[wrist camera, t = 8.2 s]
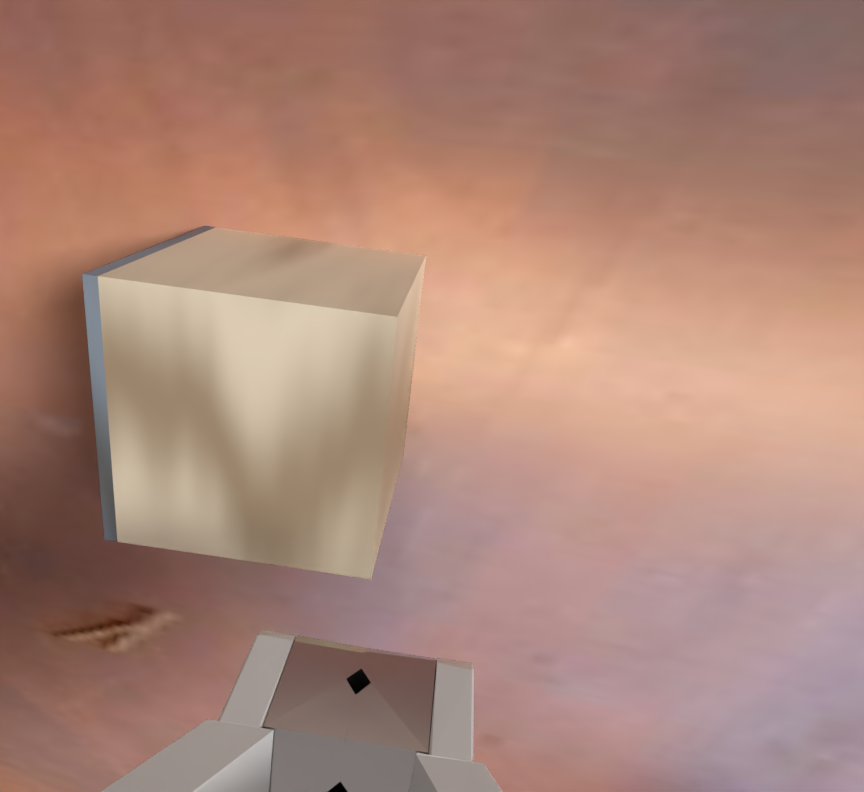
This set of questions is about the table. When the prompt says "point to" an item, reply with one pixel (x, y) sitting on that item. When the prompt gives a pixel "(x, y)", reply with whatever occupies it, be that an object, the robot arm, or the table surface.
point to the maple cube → (253, 395)
